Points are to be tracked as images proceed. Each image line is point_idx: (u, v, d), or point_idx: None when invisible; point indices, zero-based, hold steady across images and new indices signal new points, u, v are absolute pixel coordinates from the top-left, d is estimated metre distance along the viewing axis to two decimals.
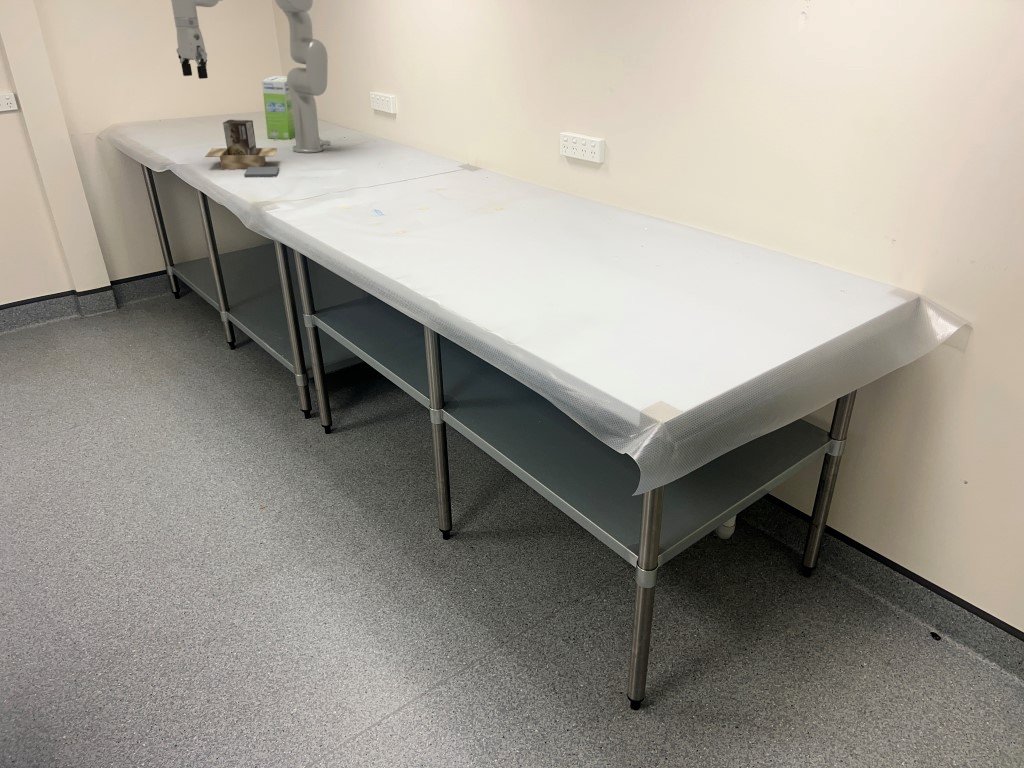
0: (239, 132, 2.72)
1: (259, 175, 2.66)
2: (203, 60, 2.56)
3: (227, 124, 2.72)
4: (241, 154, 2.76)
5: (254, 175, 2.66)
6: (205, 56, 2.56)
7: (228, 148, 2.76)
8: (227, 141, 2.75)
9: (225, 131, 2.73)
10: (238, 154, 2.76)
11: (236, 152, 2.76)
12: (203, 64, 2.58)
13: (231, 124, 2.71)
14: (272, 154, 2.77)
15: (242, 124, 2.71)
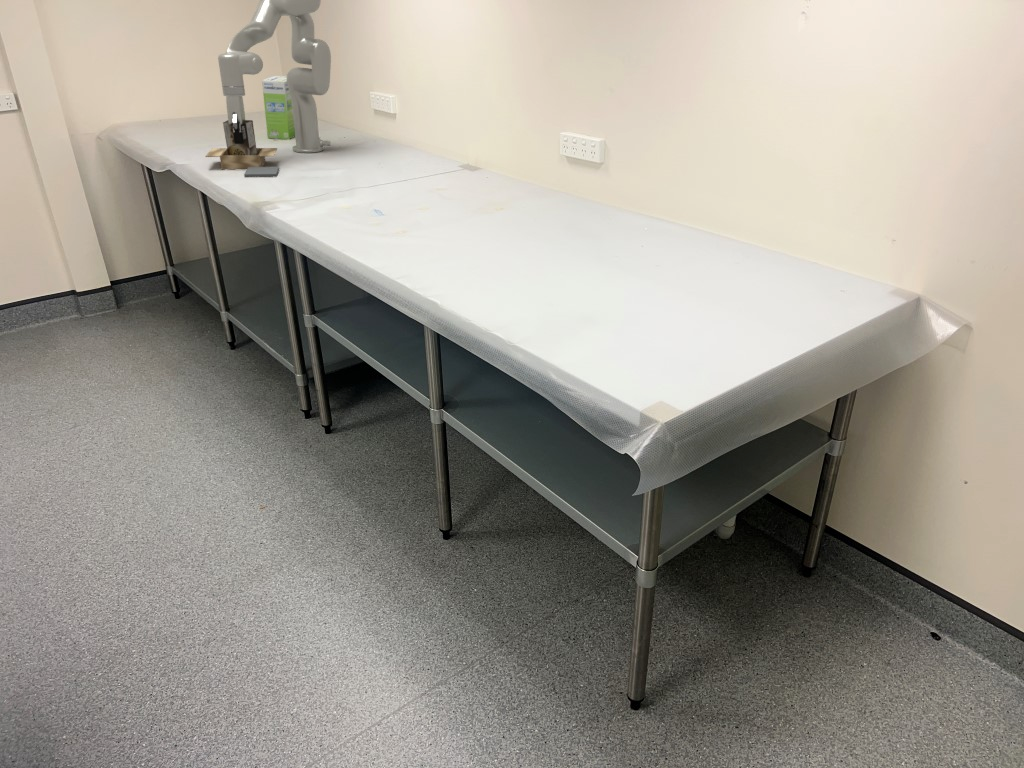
0: None
1: (259, 175, 2.66)
2: None
3: (227, 124, 2.72)
4: (241, 154, 2.76)
5: (254, 175, 2.66)
6: None
7: (228, 148, 2.76)
8: (227, 141, 2.75)
9: (225, 131, 2.73)
10: (238, 154, 2.76)
11: (236, 152, 2.76)
12: None
13: (231, 124, 2.71)
14: (272, 154, 2.77)
15: (242, 124, 2.71)
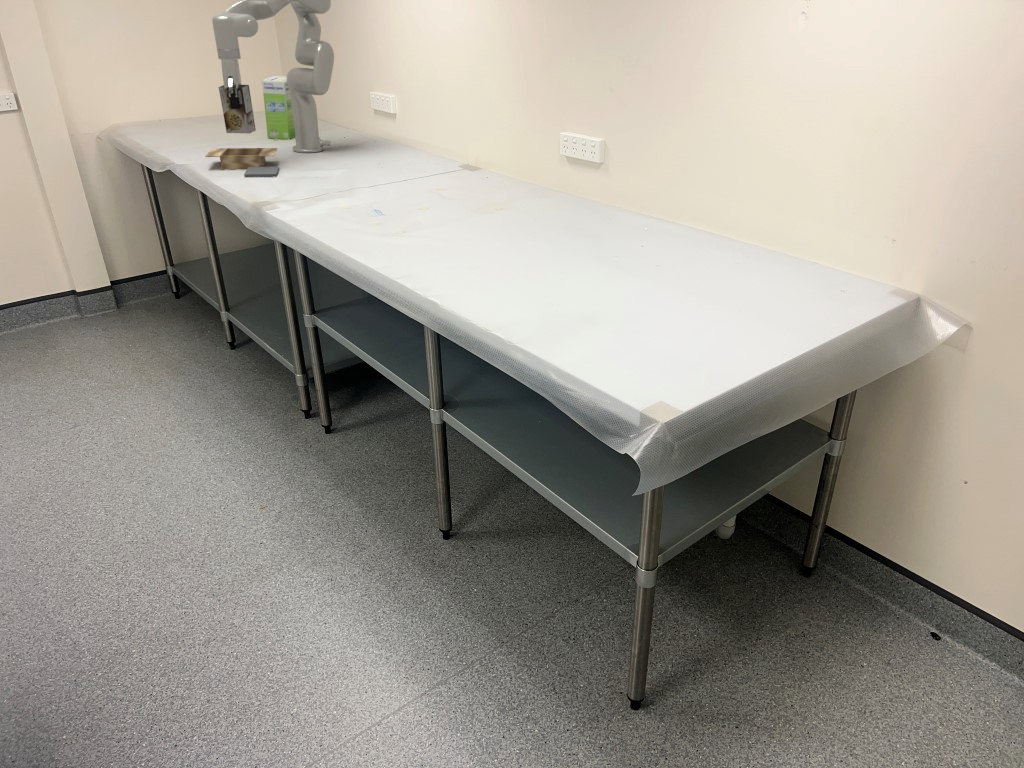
0: None
1: (259, 175, 2.66)
2: None
3: (223, 89, 2.66)
4: (238, 120, 2.71)
5: (254, 175, 2.66)
6: None
7: (224, 114, 2.71)
8: (223, 106, 2.69)
9: (221, 96, 2.68)
10: (235, 120, 2.71)
11: (232, 118, 2.71)
12: None
13: (227, 89, 2.66)
14: (272, 154, 2.77)
15: (238, 88, 2.66)
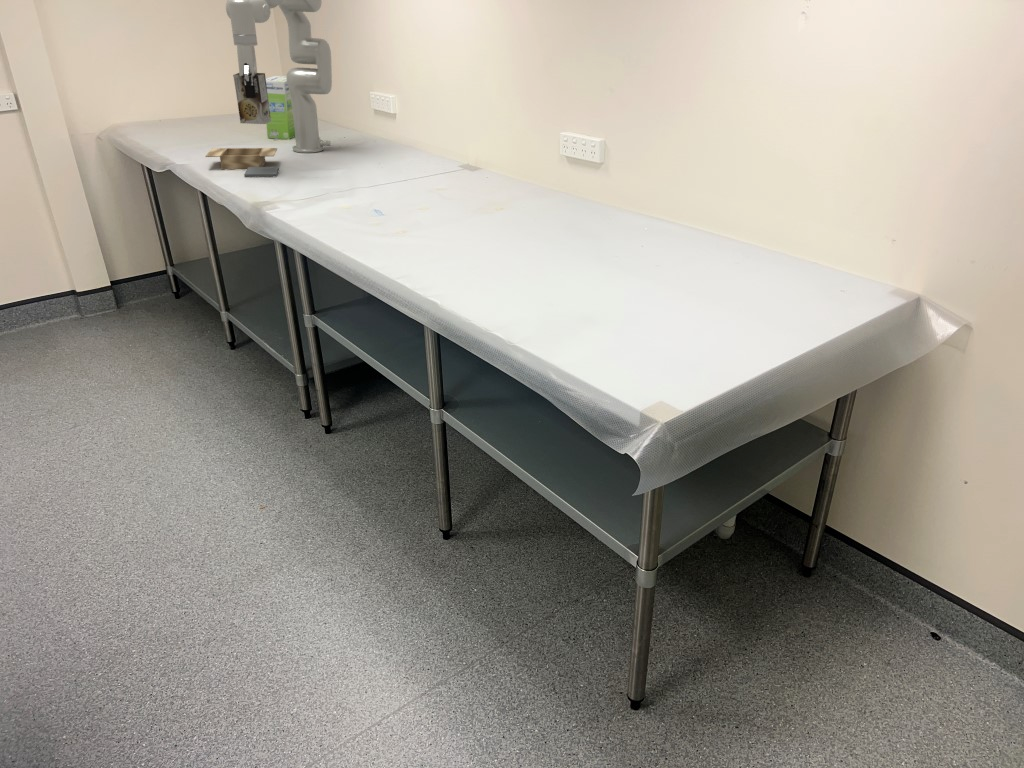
0: None
1: (259, 175, 2.66)
2: None
3: (238, 76, 2.53)
4: (253, 109, 2.58)
5: (254, 175, 2.66)
6: None
7: (239, 103, 2.58)
8: (238, 95, 2.56)
9: (236, 84, 2.55)
10: (249, 109, 2.58)
11: (247, 107, 2.58)
12: None
13: (242, 76, 2.53)
14: (272, 154, 2.77)
15: (254, 76, 2.53)
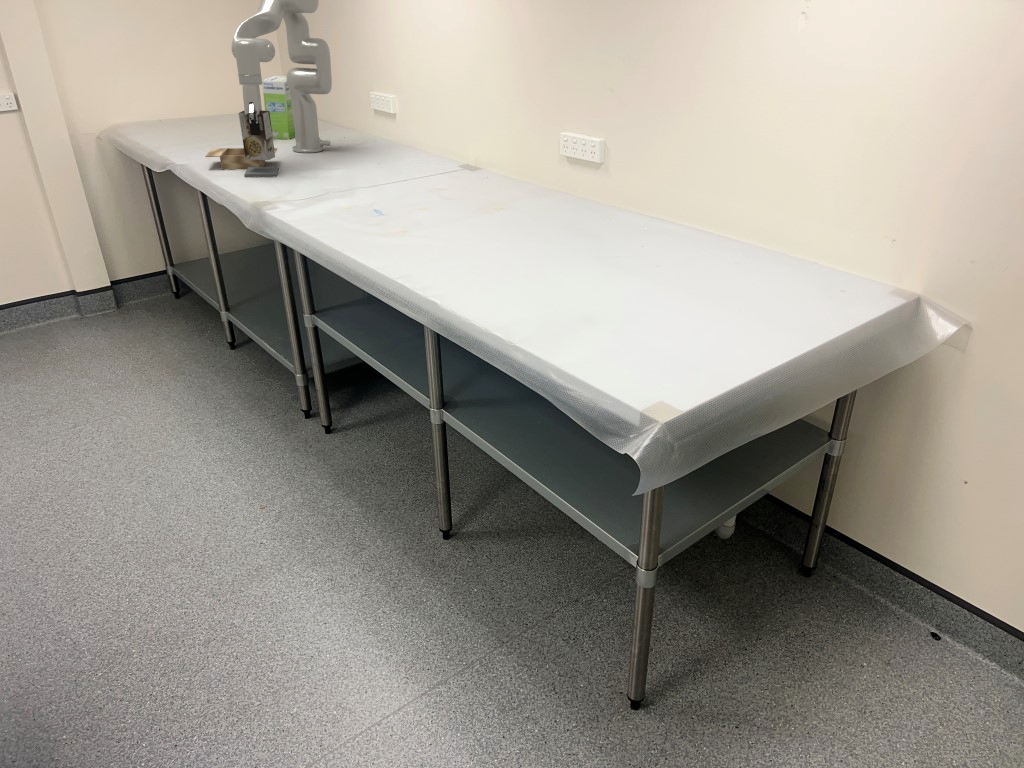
0: None
1: (259, 175, 2.66)
2: None
3: (243, 114, 2.59)
4: (257, 146, 2.64)
5: (254, 175, 2.66)
6: None
7: (244, 140, 2.63)
8: (243, 132, 2.62)
9: (241, 122, 2.60)
10: (254, 146, 2.64)
11: (252, 144, 2.64)
12: None
13: (247, 114, 2.59)
14: None
15: (259, 114, 2.59)
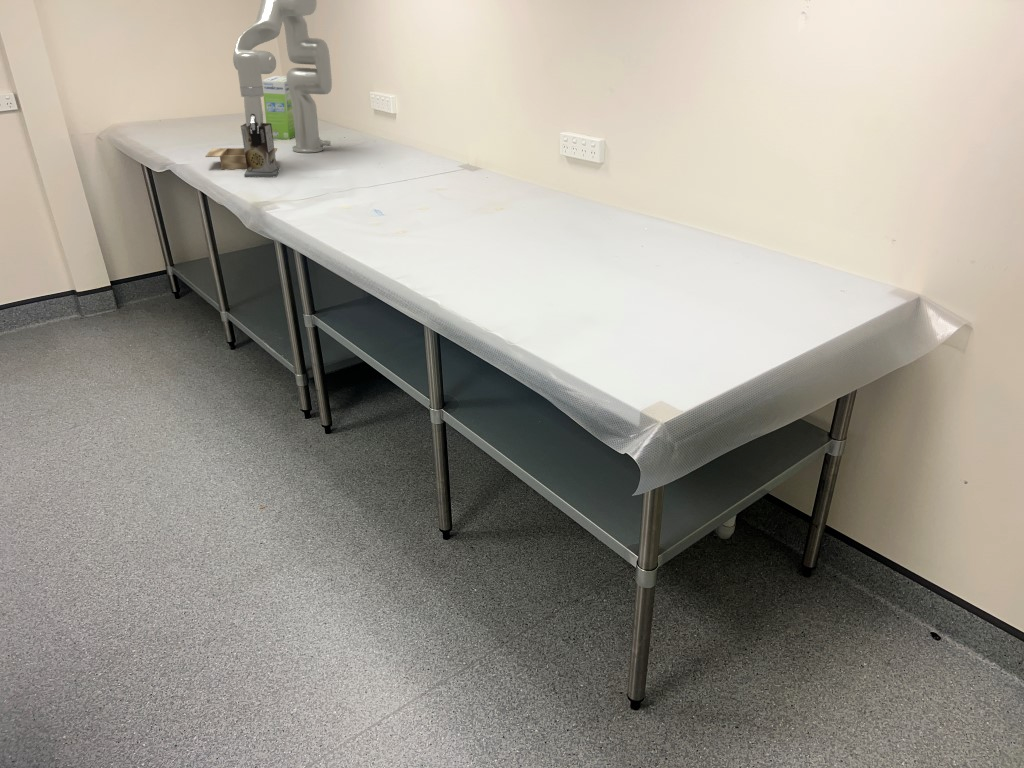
0: None
1: (259, 175, 2.66)
2: None
3: (245, 127, 2.61)
4: (259, 158, 2.66)
5: (254, 175, 2.66)
6: None
7: (246, 152, 2.66)
8: (245, 145, 2.64)
9: (243, 135, 2.63)
10: (256, 158, 2.66)
11: (254, 157, 2.66)
12: None
13: (249, 127, 2.61)
14: None
15: (261, 127, 2.61)
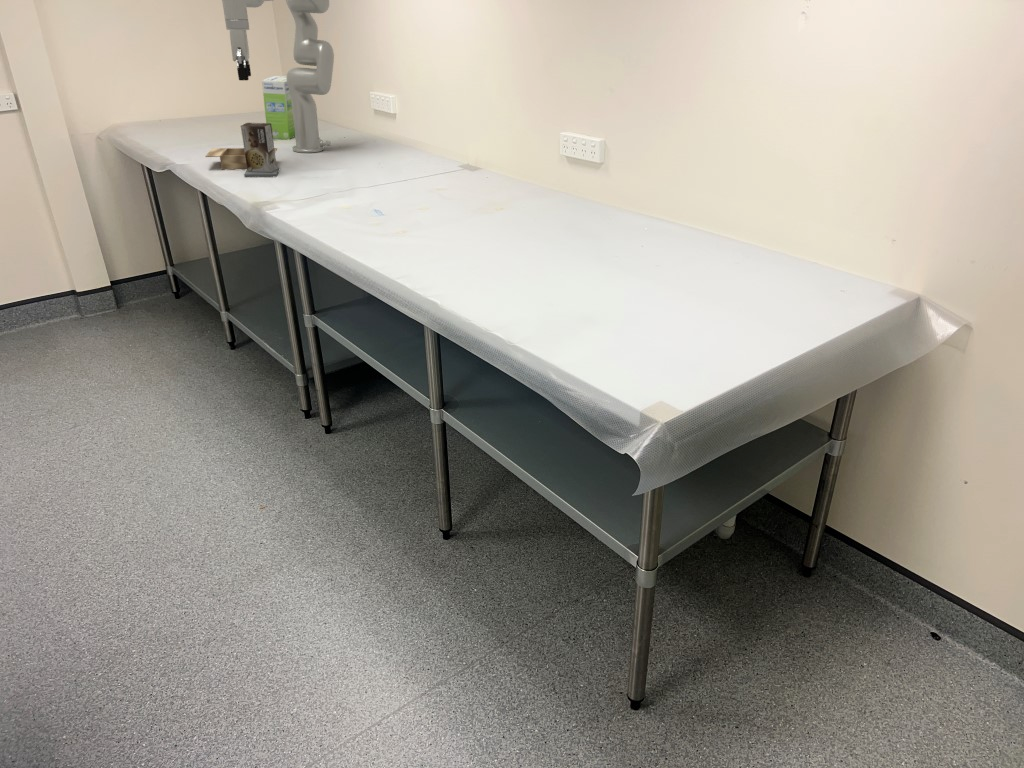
0: (258, 135, 2.62)
1: (259, 175, 2.66)
2: None
3: (245, 127, 2.61)
4: (259, 158, 2.66)
5: (254, 175, 2.66)
6: None
7: (246, 152, 2.66)
8: (245, 145, 2.64)
9: (243, 135, 2.63)
10: (256, 158, 2.66)
11: (254, 157, 2.66)
12: None
13: (249, 127, 2.61)
14: None
15: (261, 127, 2.61)
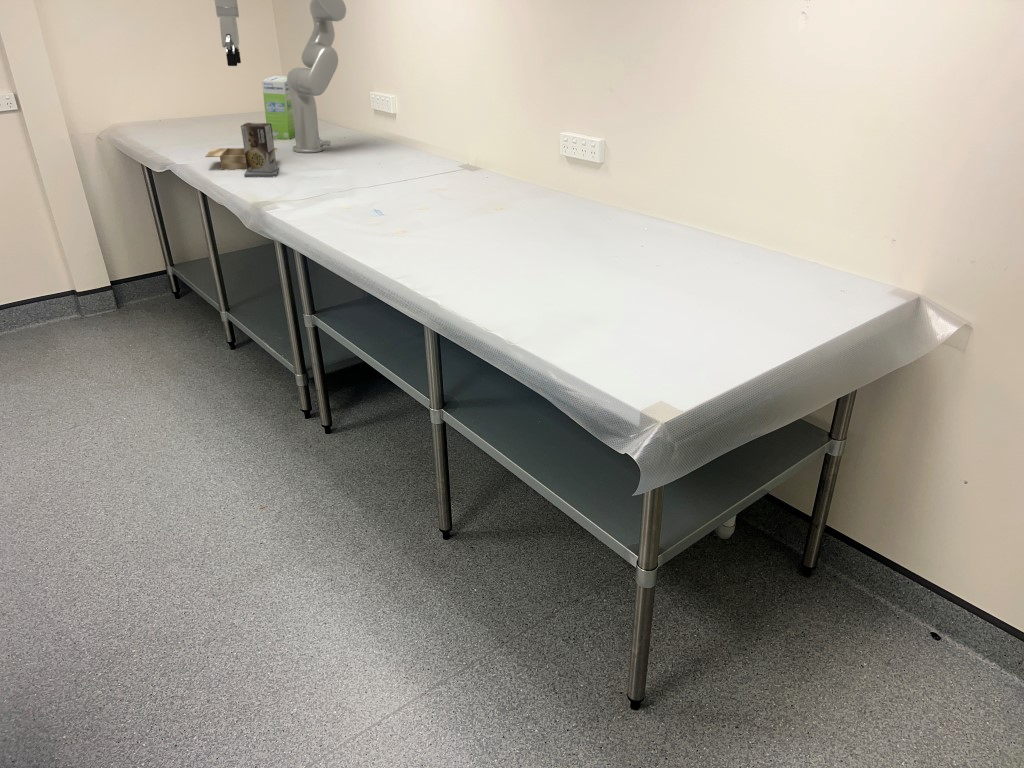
0: (258, 135, 2.62)
1: (259, 175, 2.66)
2: None
3: (245, 127, 2.61)
4: (259, 158, 2.66)
5: (254, 175, 2.66)
6: None
7: (246, 152, 2.66)
8: (245, 145, 2.64)
9: (243, 135, 2.63)
10: (256, 158, 2.66)
11: (254, 157, 2.66)
12: None
13: (249, 127, 2.61)
14: None
15: (261, 127, 2.61)
